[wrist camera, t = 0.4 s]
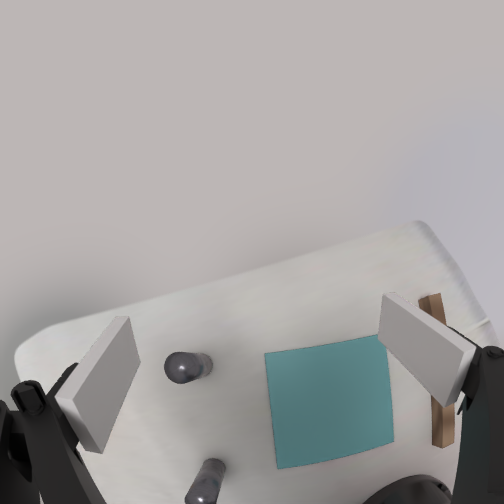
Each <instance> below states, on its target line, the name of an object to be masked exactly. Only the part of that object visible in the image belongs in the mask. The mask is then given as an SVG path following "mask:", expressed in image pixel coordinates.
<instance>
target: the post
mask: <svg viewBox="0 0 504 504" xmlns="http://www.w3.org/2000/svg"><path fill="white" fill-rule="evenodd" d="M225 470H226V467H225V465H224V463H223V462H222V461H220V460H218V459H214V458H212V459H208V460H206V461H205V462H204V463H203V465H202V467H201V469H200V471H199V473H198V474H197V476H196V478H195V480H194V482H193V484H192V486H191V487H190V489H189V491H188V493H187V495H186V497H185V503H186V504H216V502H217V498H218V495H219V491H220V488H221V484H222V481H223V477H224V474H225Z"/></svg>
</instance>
